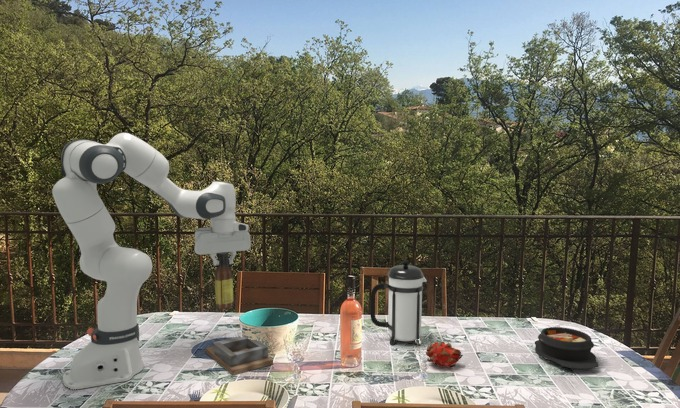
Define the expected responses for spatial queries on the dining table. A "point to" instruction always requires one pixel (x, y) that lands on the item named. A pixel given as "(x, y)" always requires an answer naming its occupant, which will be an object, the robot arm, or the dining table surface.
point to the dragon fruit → (443, 354)
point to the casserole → (566, 347)
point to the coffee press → (402, 303)
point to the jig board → (241, 367)
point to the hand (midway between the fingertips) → (223, 264)
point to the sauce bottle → (223, 282)
